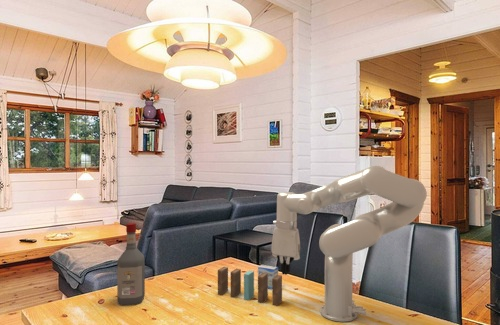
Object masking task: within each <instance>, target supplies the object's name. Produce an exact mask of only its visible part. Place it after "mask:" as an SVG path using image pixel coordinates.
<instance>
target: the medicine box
mask: <svg viewBox="0 0 500 325" xmlns="http://www.w3.org/2000/svg"><path fill="white" fill-rule="evenodd" d="M262 273H268V290H272V278H274V277H275V276H276V275H279V267H278V266H272V265H265V264H261V265H259V266H258V267H257V277H258V276H259V275H260V274H262Z"/></svg>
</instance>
